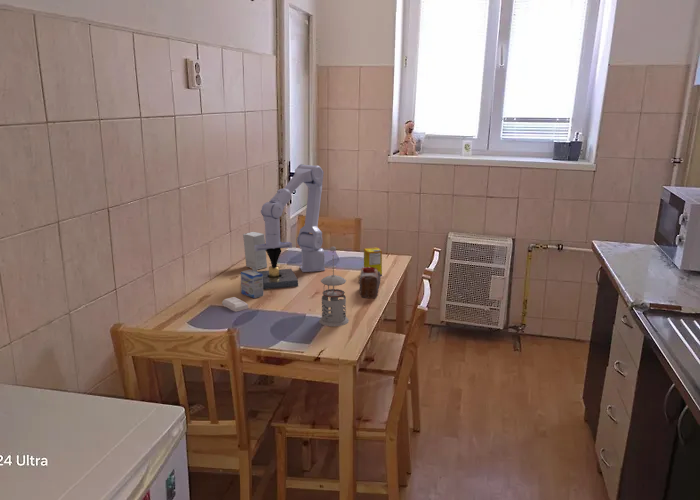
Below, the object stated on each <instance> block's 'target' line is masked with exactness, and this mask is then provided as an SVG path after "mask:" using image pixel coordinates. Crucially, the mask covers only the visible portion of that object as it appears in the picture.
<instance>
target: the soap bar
mask: <svg viewBox="0 0 700 500" xmlns="http://www.w3.org/2000/svg"><path fill="white" fill-rule="evenodd" d="M221 303H222V304H221V305H222V307H223V306H224V307H226V308H228V309H229V310H231V311H233V312H235V313H236V312H240V311H243V310H247V309H249V305H248V303H246V302H245V301H244V300H241V299H240V298H237V297H235V296H233V297H229V298H224V299H223V300H222V301H221Z"/></svg>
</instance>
